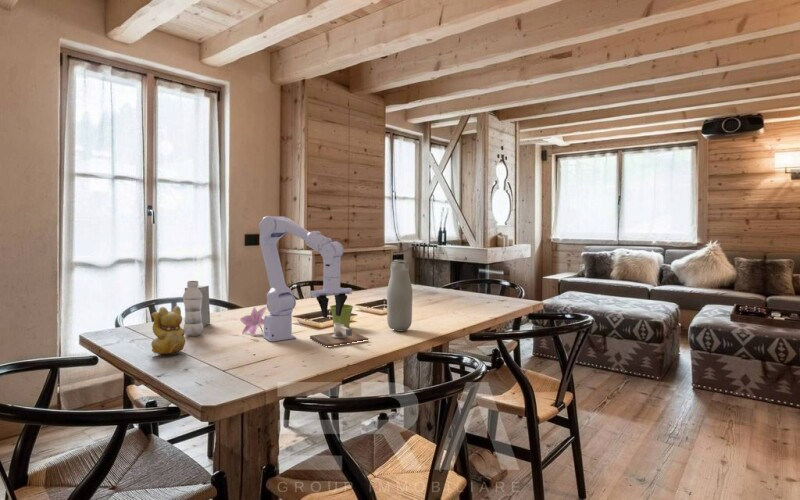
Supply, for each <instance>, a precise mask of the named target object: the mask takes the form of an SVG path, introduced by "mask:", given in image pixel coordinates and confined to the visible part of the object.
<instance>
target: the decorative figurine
mask: <svg viewBox="0 0 800 500" xmlns="http://www.w3.org/2000/svg"><path fill="white" fill-rule="evenodd" d="M150 316H151V317H152V318H153V324H152V331H153V332H152V333H153V334H154V335H155V337H156V338H153V339H152V341H151V344H150V345H151V347H152V349H151V352H153V353H154V354H158V357H160V358H165V357H173V356H178V355H179V354H178V353H179V352H181V351H182V350H184V347H185V345H186V337H185V336H184V335H185V334H184V333H185V332H184V330H183V329H184V328H182V327H181V324H182V321H183V316H182V311H181V307H180V306H178V305H176V306H174V307H173V308H172V311H169V310H168V309H167V308H166V307H165V306H161V307H160V308H159V310H158V311H154V312H152V313H151V315H150Z"/></svg>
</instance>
